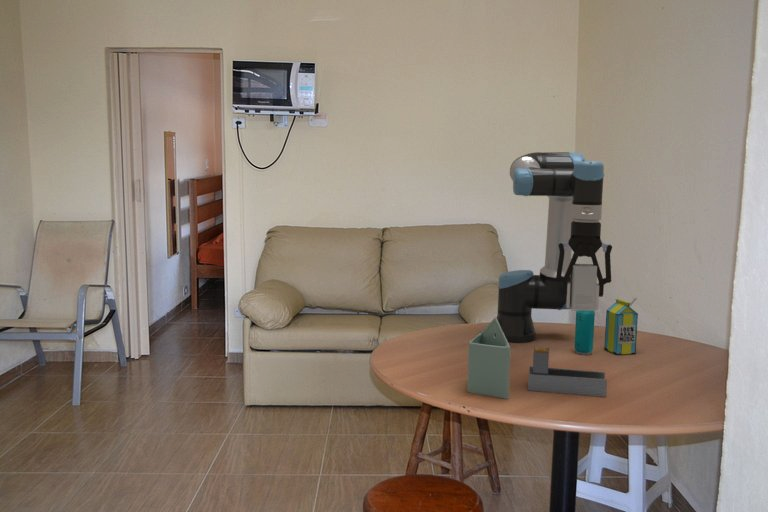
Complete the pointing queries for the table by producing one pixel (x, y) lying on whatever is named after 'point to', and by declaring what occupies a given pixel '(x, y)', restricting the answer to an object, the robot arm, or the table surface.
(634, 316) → the carton
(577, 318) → the beverage can
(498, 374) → the planter
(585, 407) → the table surface
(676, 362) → the table surface
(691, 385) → the table surface
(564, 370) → the rail
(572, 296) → the skincare box
